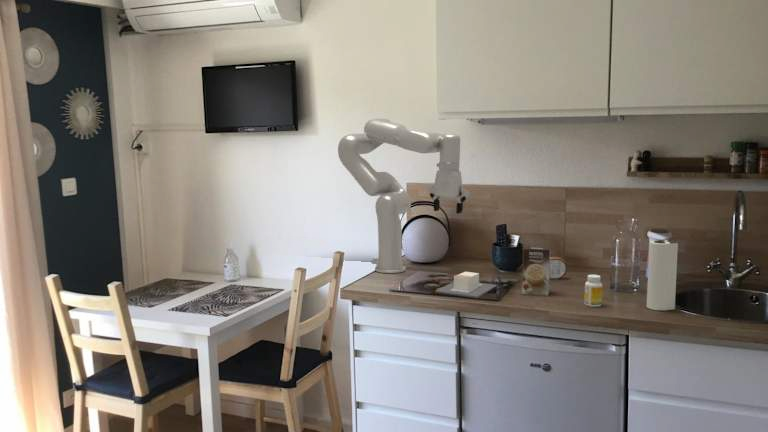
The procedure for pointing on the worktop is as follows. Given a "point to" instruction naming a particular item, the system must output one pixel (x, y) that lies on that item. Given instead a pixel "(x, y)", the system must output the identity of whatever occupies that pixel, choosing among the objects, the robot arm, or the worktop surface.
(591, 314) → the worktop surface
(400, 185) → the robot arm
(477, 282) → the card box
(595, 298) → the supplement bottle
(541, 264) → the coffee box
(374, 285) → the worktop surface
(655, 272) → the paper towel roll
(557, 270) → the tin
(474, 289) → the mat
